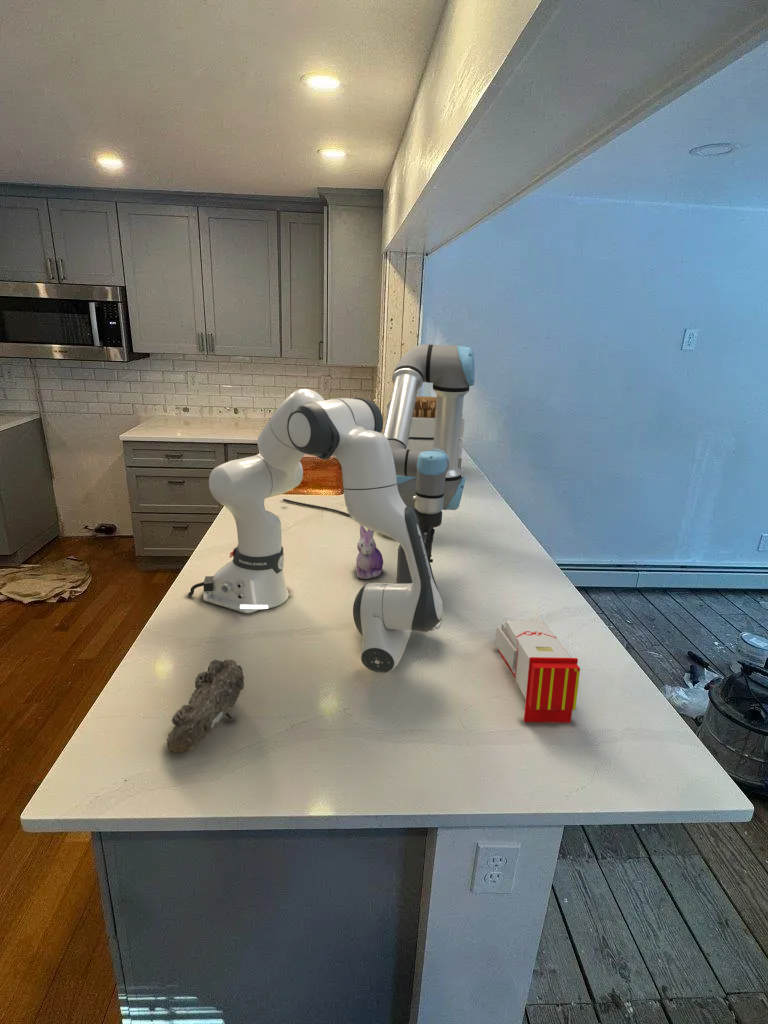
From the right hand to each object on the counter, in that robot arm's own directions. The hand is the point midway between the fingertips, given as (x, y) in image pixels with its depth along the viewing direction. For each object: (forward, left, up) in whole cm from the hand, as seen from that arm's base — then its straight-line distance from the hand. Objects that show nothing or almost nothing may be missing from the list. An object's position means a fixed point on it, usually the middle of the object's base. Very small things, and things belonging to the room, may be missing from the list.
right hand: (422, 587), depth 159 cm
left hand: (+8, -14, +5) cm, 17 cm away
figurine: (-18, -5, -1) cm, 19 cm away
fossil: (+13, -68, -1) cm, 69 cm away
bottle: (+8, -14, -1) cm, 17 cm away
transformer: (-89, +85, -1) cm, 123 cm away
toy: (+43, -10, -1) cm, 44 cm away
